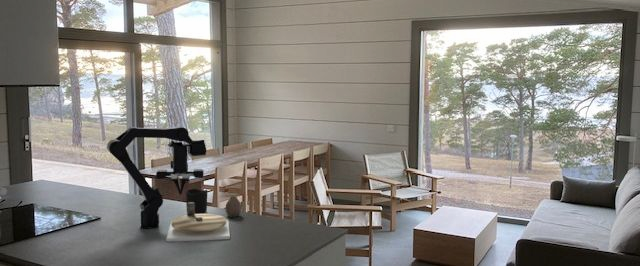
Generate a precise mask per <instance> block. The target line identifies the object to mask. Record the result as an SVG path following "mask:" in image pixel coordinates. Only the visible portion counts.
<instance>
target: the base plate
mask: <svg viewBox="0 0 640 266" xmlns="http://www.w3.org/2000/svg"><path fill="white" fill-rule="evenodd" d="M230 238H231V237H230V223H229V219H226V225H224V226H223V227H220V228H217V229H213V230H207V231H183V230H178V229H175V228H173V227H172V221H171V222H170V225H169V228H168V232H167V235H166V238H165V239H166V243H167V242H189V241H190V242H191V241H210V240H211V241H214V240H230Z"/></svg>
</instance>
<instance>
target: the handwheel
mask: <svg viewBox="0 0 640 266" xmlns="http://www.w3.org/2000/svg"><path fill="white" fill-rule="evenodd" d="M226 220H227V218H226V217H225V216H223V215H219V214H215V213H214V214H213V213H204V214H195V203H194V202H189V203H187V205H186V215H181V216H178V217H175V218H174V219H172V220H171V222H172V227H173V228H175V229H178V230H183V231H207V230H213V229H217V228H220V227H223V226H224V225H226Z"/></svg>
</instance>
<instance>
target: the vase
mask: <svg viewBox="0 0 640 266" xmlns="http://www.w3.org/2000/svg"><path fill="white" fill-rule="evenodd" d="M225 213H226V215H227V216H228V217H229V218H235V217H236V218H237V217H238V216H239V215H240V214H241V213H242V204H241V201H240V200H239V199H238V197H237V196H236V195H231V196H230V198H229V199H228V201H227V202H226V204H225Z"/></svg>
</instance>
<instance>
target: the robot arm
mask: <svg viewBox="0 0 640 266" xmlns="http://www.w3.org/2000/svg"><path fill="white" fill-rule="evenodd" d="M136 138H143V139H145V138H146V139H147V138H151V139H152V138H153V139H168V140H171V141H170V142H169V143H168V144H167V147H170V148H172V160H170V169H171V170H172V171H168V169H158V170H157V171H156V173H155V178H156V179H160V180H161V179H165V178H166V177H170V181H173V183H174V185H175V186H176V189H177V191H178V194H179V195H182V194H183V190H184V188H185V185H186V183H187V181H190V179H191V178H190V177H191V176H192V177H194V178H195V179H203V178H204V174H205V171H204V169H203V168H194V169H193V171H192V170H191V171H190V170H189V164H188V155H190V157H204V156H206V154H207V147H206V143H205V139H197V140H196V139H195V140H193V139H192V138H191V137H190V135H189V131H188V129H187V128H185V127H183V126H181V125H177V126H170V127H165V128H158V127H157V128H155V127H153V128H151V127H135V126H130V127H129V128H128V129H126V130H125V131H124V132H123V133H121V134H120V135H119V136H117V137H116V138H113V139H111V140H109V141H108V143H107V145H106V149H107V151H108V152H109V153H110V155H112V156H113V158H115V159H116V160H118V162H120V164H121V165H122V166H123V167H124V169H125V170H126V172H127V173H128V174H129V176H130V177H131V178H132V181H134V183H135V184H136V185H137V187H138V188H139V190H140V191H141V194H142V197H143V198H144V199H143V201H142V202H141V203H140V204H139V207H140V209H141V211H140V226H139V228H140V229H157V228H158V226H160V214H159V209H160V208H161V207H162V205H163V203H164V199H163V196H164V195H163V194H162V193H160V191H159V188H157V186H155V185H153V186H151V185H150V184H149V183H148V181H147V180H146V179H145V177H144V176H143V174H142V173H141V172H140V170H139V169H138V167H137V166H136V164H135V163H134V162H133V160H132V159H131V157H130V155H129V152H128V149H127V147H128V146H130V144H131V143H132V142H133V141H134V140H135V139H136ZM176 141H177V142H176ZM180 177H181V182H180Z"/></svg>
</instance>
